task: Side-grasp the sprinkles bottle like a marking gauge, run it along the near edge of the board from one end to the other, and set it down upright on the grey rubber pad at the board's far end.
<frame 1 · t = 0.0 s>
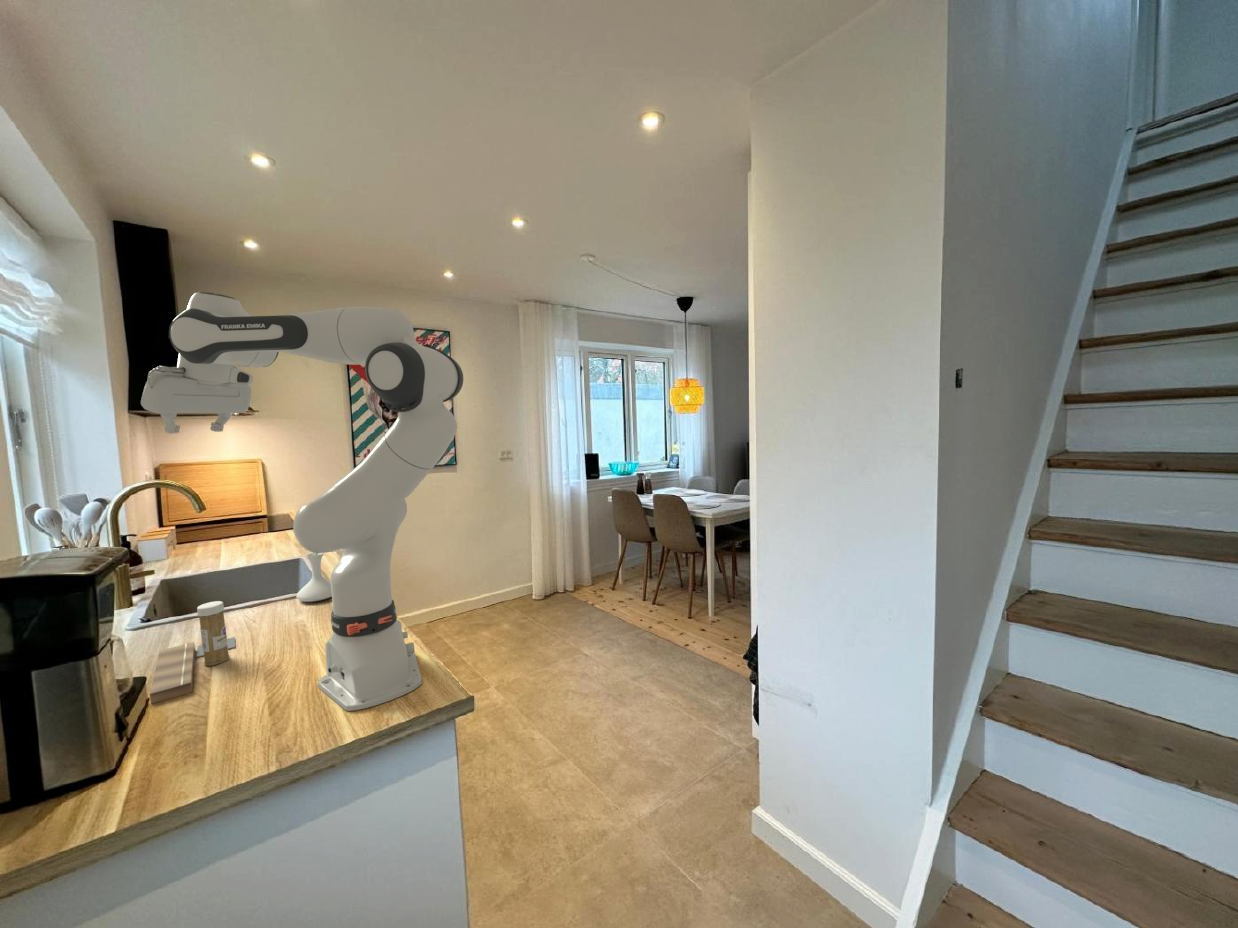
hand: (195, 431, 106), 52 cm above the counter, tool tilted 20°, fingers open, 8 cm apart
end pad: (216, 647, 118), on the counter
sprinkles bottle: (217, 662, 111), on the counter
board: (175, 674, 106), on the counter
flower in vase: (321, 598, 149), on the counter
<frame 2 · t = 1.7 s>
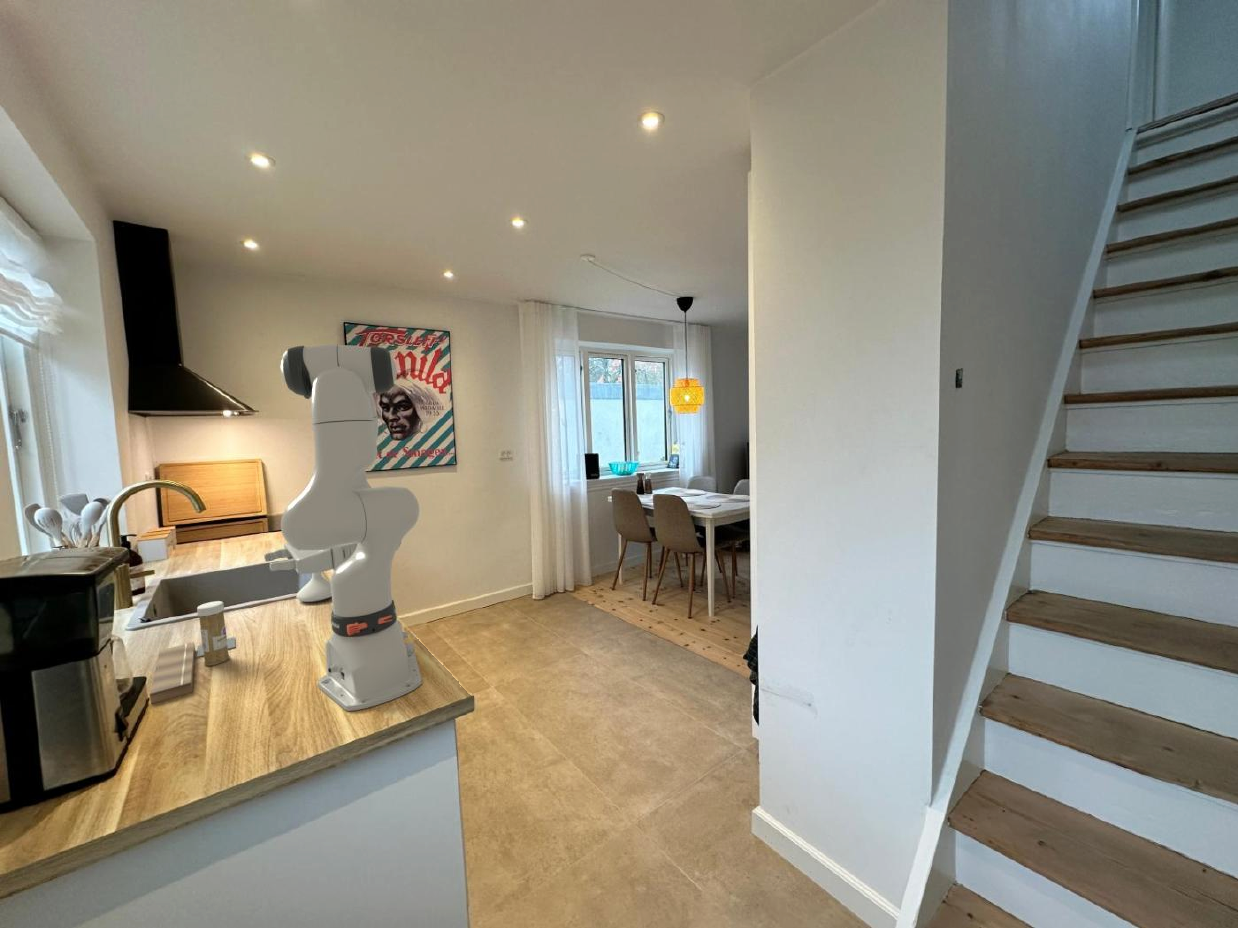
hand: (267, 562, 116), 21 cm above the counter, tool horizontal, fingers open, 8 cm apart
nothing on the counter moved.
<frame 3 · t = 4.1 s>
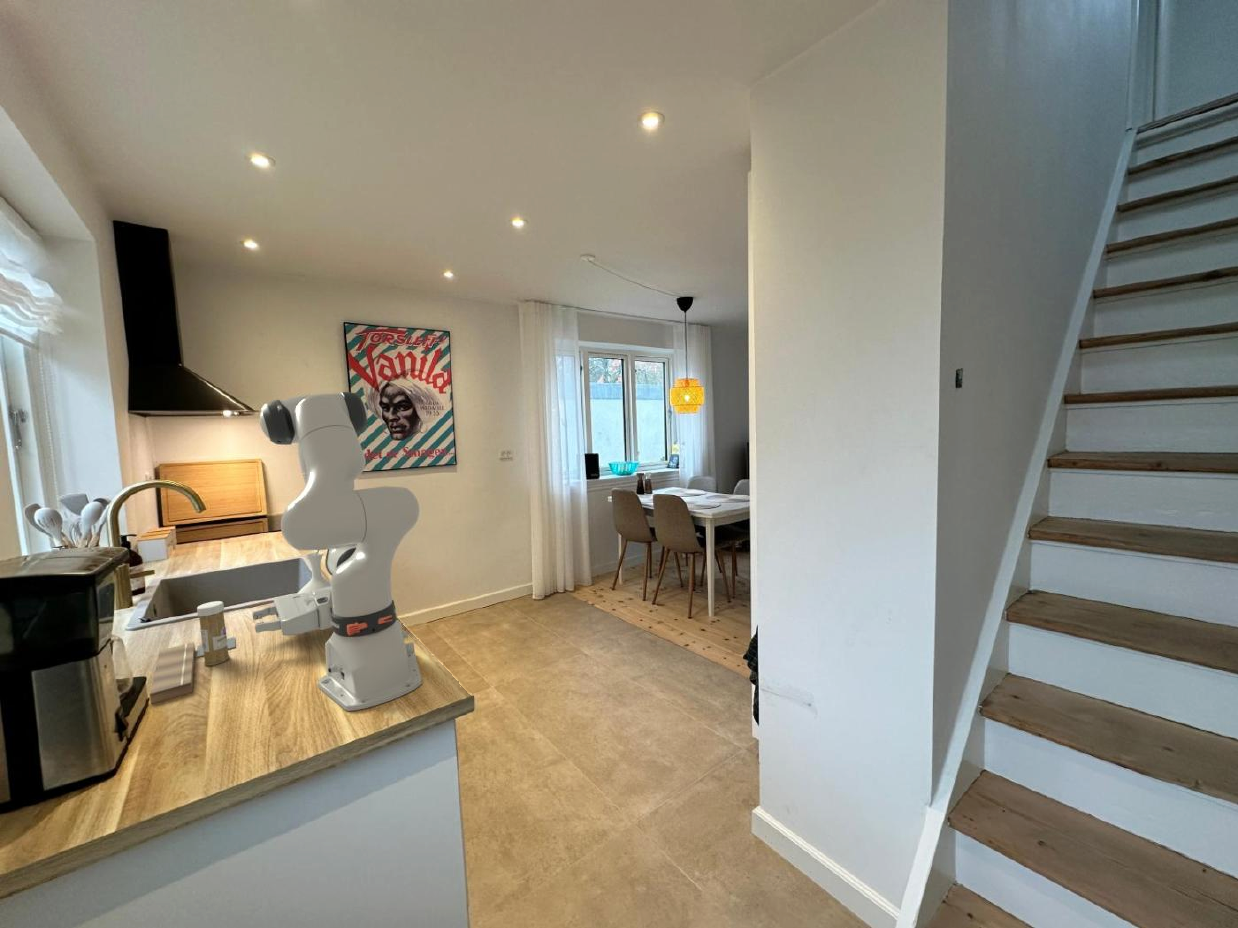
hand: (253, 622, 115), 7 cm above the counter, tool horizontal, fingers open, 8 cm apart
nothing on the counter moved.
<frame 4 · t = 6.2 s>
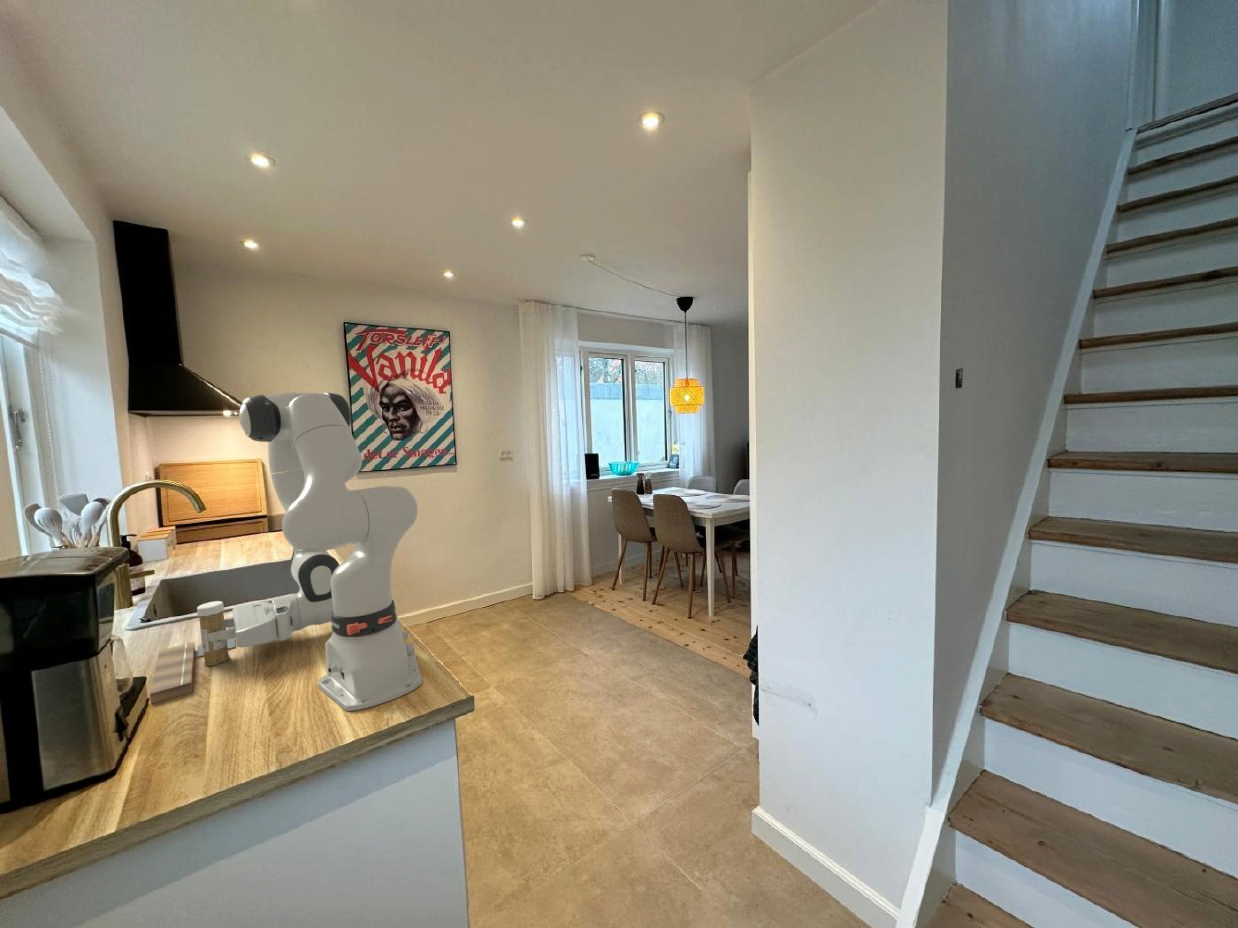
hand: (208, 632, 110), 7 cm above the counter, tool horizontal, fingers closed on sprinkles bottle, 4 cm apart
sprinkles bottle: (217, 662, 111), on the counter, touching gripper
everything else where it was.
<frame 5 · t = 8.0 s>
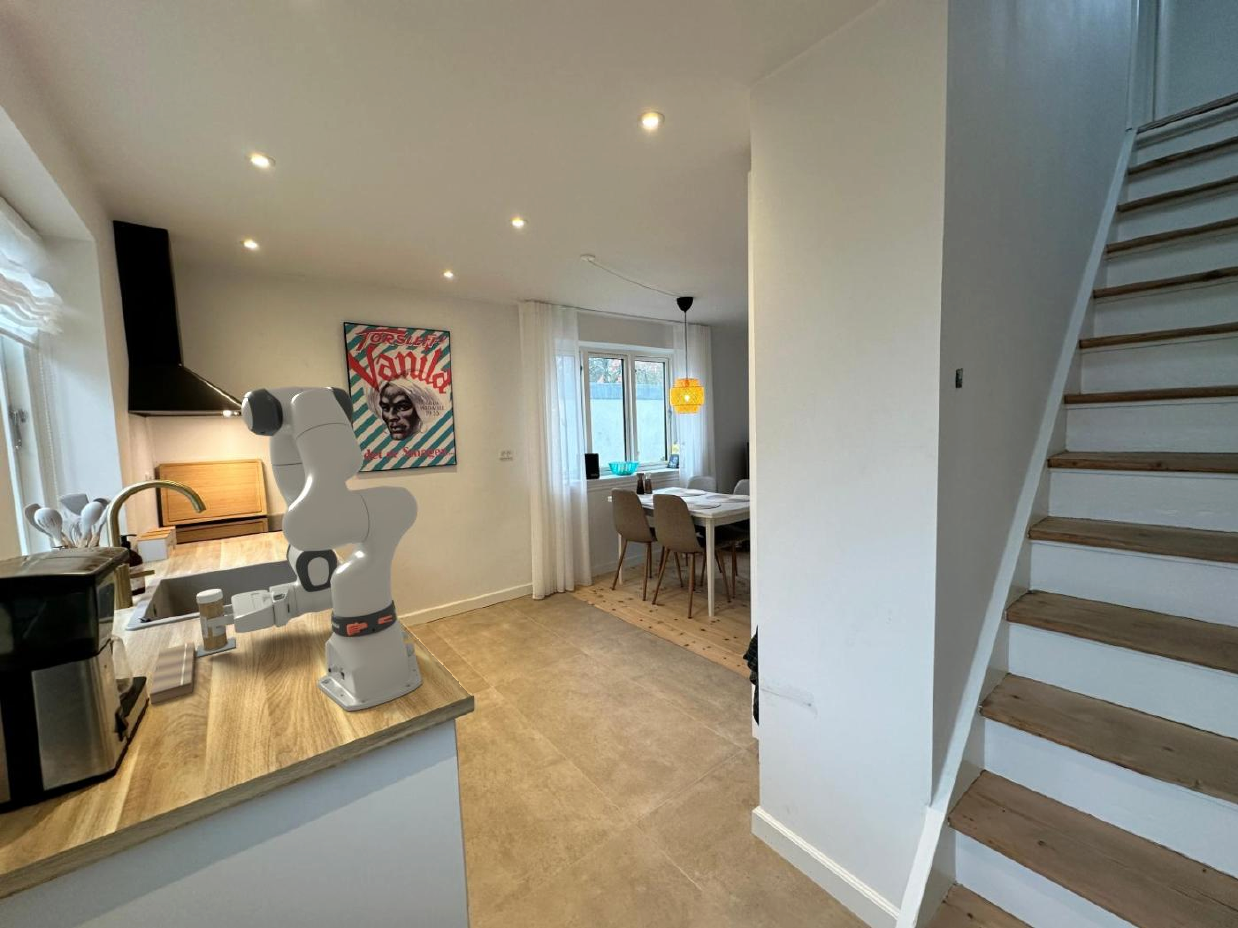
hand: (207, 619, 112), 9 cm above the counter, tool horizontal, fingers closed on sprinkles bottle, 4 cm apart
sprinkles bottle: (216, 647, 114), point 2 cm above the counter, touching gripper
everything else where it was.
when the fingers open (7 cm above the counter, at t = 9.9 s): sprinkles bottle moves 2 cm, resting on end pad.
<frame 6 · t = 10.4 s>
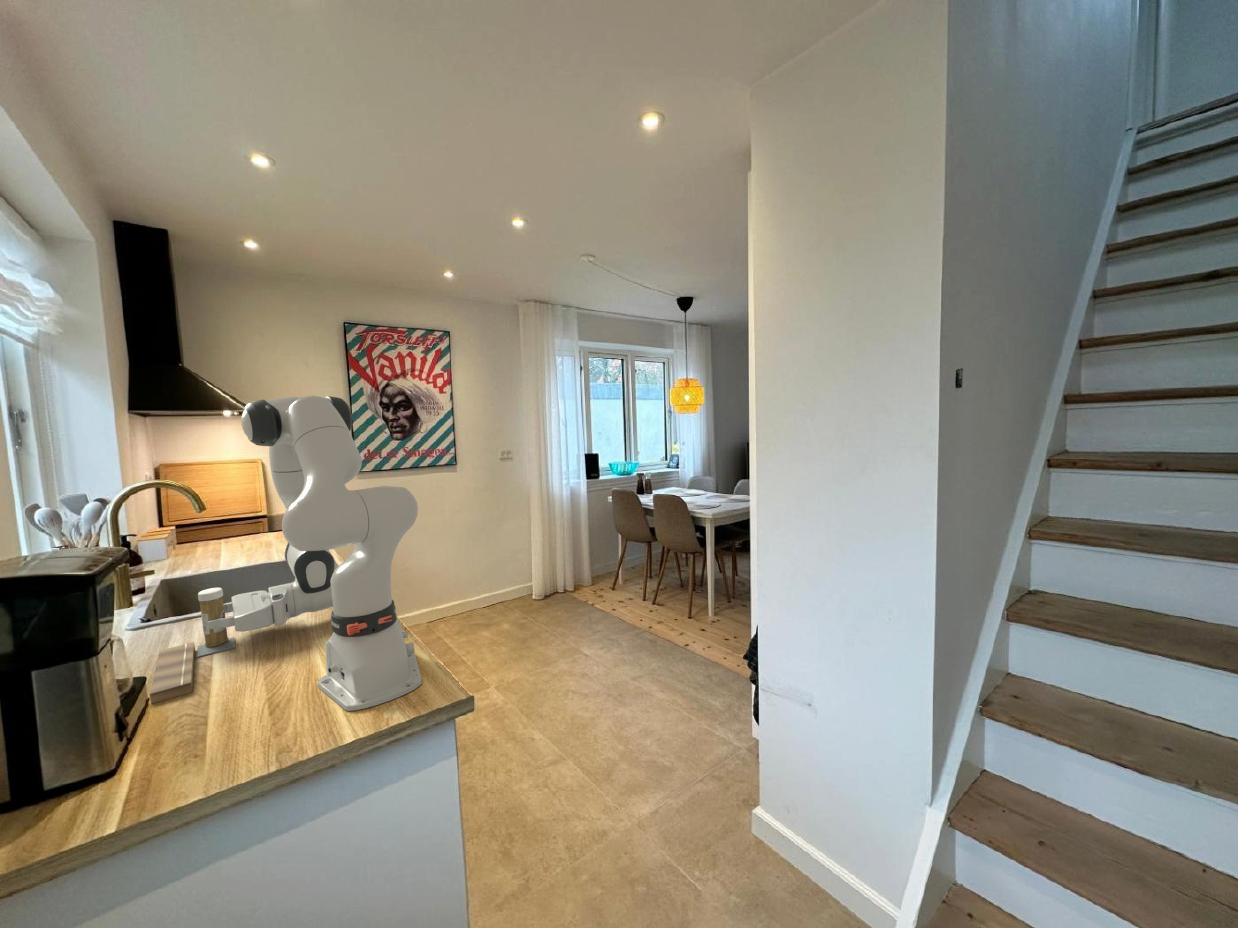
hand: (208, 618, 116), 7 cm above the counter, tool horizontal, fingers open, 8 cm apart
sprinkles bottle: (217, 643, 119), resting on end pad, touching gripper
everything else where it was.
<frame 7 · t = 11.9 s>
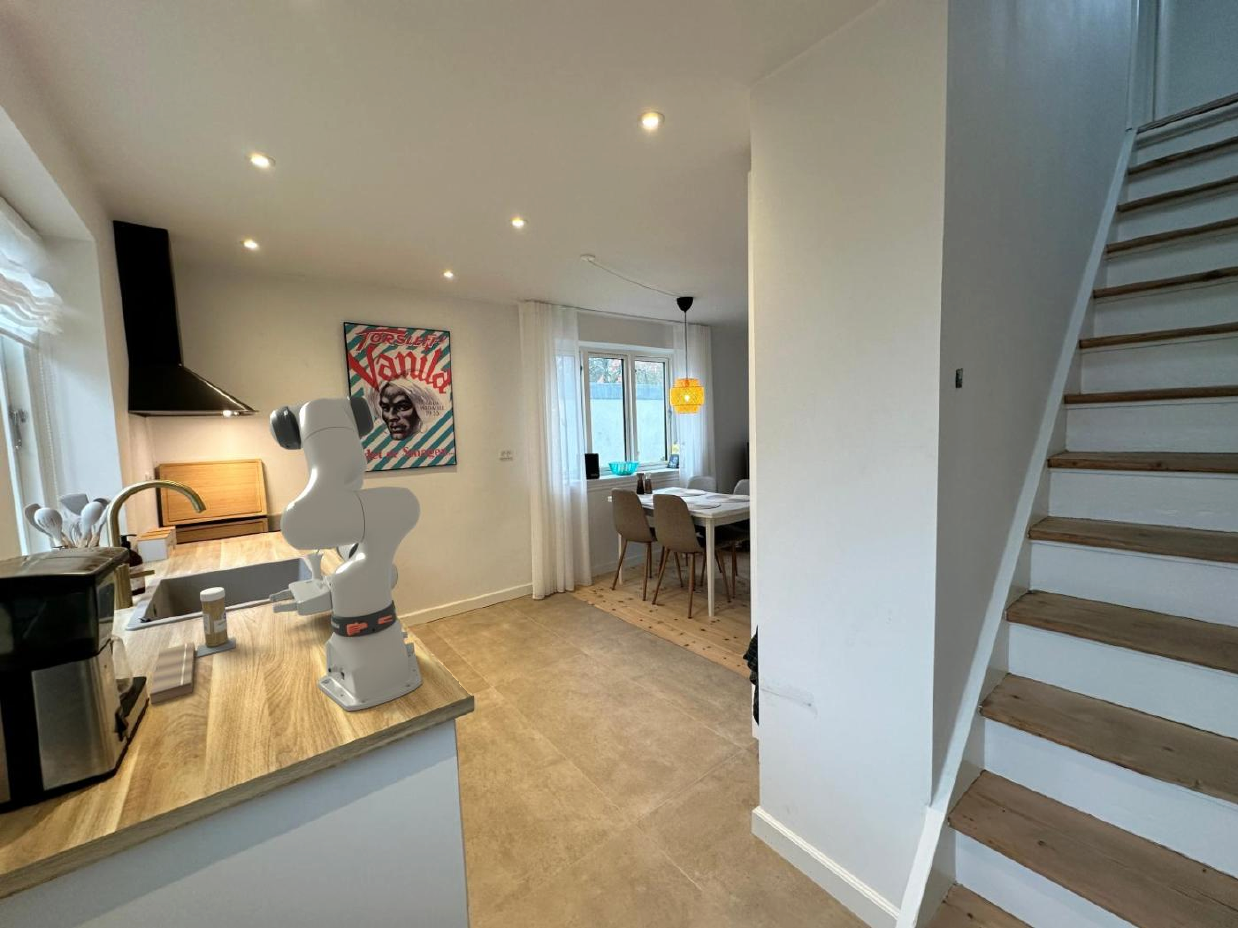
hand: (271, 603, 124), 8 cm above the counter, tool horizontal, fingers open, 8 cm apart
sprinkles bottle: (216, 643, 119), resting on end pad
everything else where it was.
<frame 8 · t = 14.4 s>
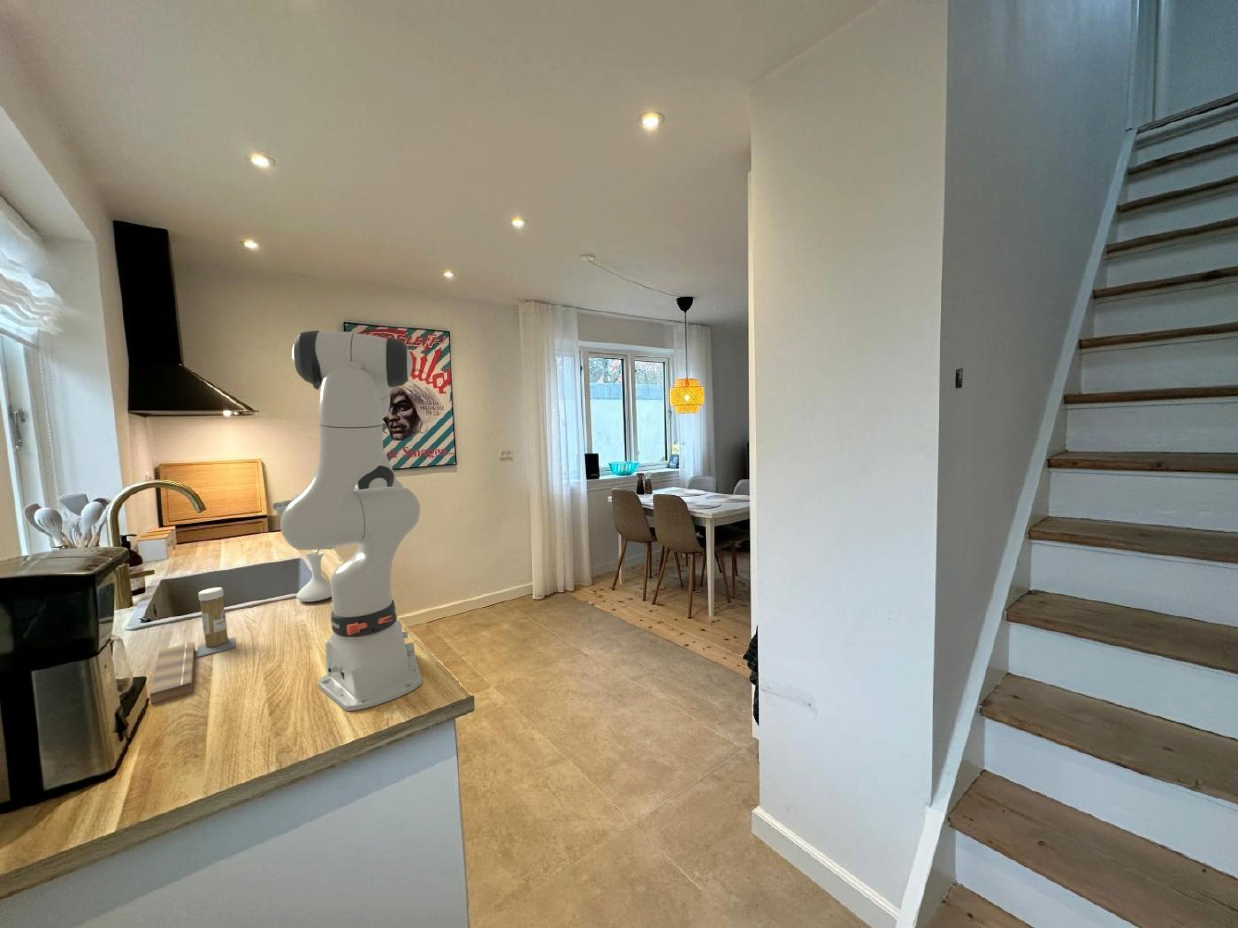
hand: (274, 509, 122), 32 cm above the counter, tool horizontal, fingers open, 8 cm apart
at the end: sprinkles bottle inside the target area (2.1 cm from its centre), resting on end pad; sprinkles bottle tilted 1°; the gripper is holding nothing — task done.
